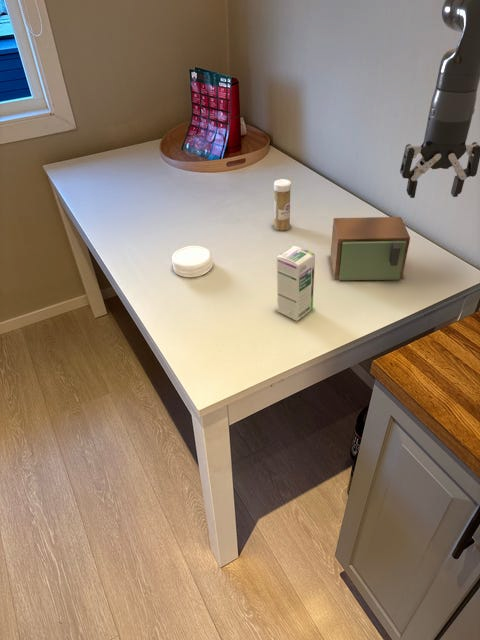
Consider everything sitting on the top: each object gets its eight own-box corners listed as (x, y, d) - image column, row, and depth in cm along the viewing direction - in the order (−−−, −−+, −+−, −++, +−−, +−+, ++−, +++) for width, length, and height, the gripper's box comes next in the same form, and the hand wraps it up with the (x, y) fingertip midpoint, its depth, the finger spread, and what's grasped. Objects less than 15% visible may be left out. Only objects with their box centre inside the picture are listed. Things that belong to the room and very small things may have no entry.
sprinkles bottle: (285, 232, 135) (285, 186, 126) (270, 228, 137) (270, 183, 128) (293, 225, 138) (294, 180, 129) (279, 221, 140) (279, 177, 131)
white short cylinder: (187, 253, 129) (185, 241, 126) (219, 261, 125) (218, 249, 122) (165, 272, 122) (163, 260, 120) (199, 282, 118) (198, 269, 116)
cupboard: (393, 256, 123) (401, 216, 116) (402, 278, 115) (410, 237, 108) (330, 256, 124) (333, 218, 117) (334, 279, 116) (338, 238, 109)
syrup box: (297, 322, 105) (299, 265, 95) (276, 311, 108) (276, 255, 99) (313, 309, 108) (316, 253, 99) (291, 299, 111) (293, 244, 102)
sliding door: (398, 277, 115) (405, 240, 108) (401, 285, 112) (409, 248, 106) (338, 278, 116) (342, 241, 109) (340, 286, 113) (344, 249, 107)
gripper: (483, 106, 92) (462, 187, 102) (406, 108, 93) (393, 189, 103) (497, 118, 86) (474, 203, 96) (415, 121, 87) (400, 205, 97)
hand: (432, 195), depth 99 cm, fingers open, 8 cm apart
